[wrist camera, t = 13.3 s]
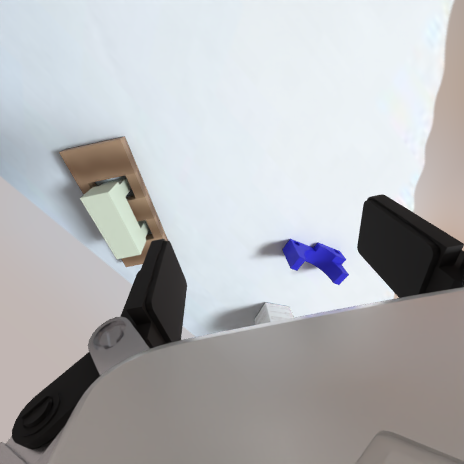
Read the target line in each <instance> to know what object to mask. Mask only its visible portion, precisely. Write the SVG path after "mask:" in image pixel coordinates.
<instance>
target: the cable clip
mask: <svg viewBox="0 0 464 464" xmlns="http://www.w3.org/2000/svg"><path fill="white" fill-rule="evenodd" d="M283 253H284V255H285V257H286V259H287V262H288V264H289V266H290V268H291V269H294V270H298V269H299V268H300V266H301V265H302V264H303V263H304V262H308V263H311V264H313V265H315V266H316V267H318V268H319V269H320V270H322V271H323V272H324V273H325V274H326V275H327V276H328V277H329V278H330V279H331V280H332V282H333V283H335V284H338V285H339V284H340V283H341V282H342V281H343V280H344V279H345V278H346V277H347V276H348V275H349V274H348V273H347V272H346V270H345V269H344V267H343V266H342V264H343V262H344V261H345V260H346V259H345V257H344V256H343V255H342V254H341V252H340V251H338V250H335V249H333V248H330V247H328V246H325V245H323V244H320V243H317V244H316V245H315V247H314V248H312V247H310V246H307V245H305V244H302V243H300V242H297V241H294V240H292V239H290V240H289V241H288V243H287V244H286V245H285V247H284V248H283Z"/></svg>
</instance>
